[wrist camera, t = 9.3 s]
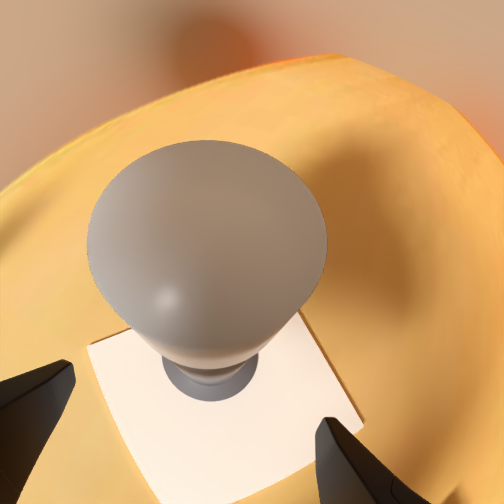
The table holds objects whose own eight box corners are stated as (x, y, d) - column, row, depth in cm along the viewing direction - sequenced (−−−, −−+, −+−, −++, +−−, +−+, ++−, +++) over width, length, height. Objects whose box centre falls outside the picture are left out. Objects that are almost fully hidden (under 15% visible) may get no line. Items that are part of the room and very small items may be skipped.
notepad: (175, 520, 11) (174, 523, 11) (87, 347, 16) (85, 346, 16) (362, 426, 16) (365, 426, 15) (271, 271, 21) (272, 268, 20)
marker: (214, 400, 15) (223, 408, 3) (162, 356, 16) (48, 229, 4) (257, 350, 17) (363, 216, 5) (205, 309, 18) (203, 117, 6)
